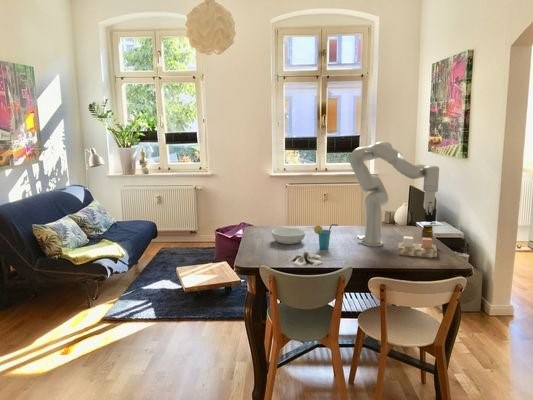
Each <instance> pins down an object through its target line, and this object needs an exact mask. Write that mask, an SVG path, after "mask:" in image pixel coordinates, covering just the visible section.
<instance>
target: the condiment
mask: <svg viewBox="0 0 533 400" xmlns="http://www.w3.org/2000/svg"><path fill="white" fill-rule="evenodd" d="M433 233H434V230H433V225H431V224H424V225H423V227H422V230H421V239H422V238H431V239H432V240H433V237H434V236H433V235H434V234H433ZM418 244H422V241H421V242H420V243H418ZM432 245H434V244H433V243H432Z"/></svg>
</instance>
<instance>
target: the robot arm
mask: <svg viewBox="0 0 533 400" xmlns="http://www.w3.org/2000/svg"><path fill="white" fill-rule="evenodd" d="M375 159H380V160H383V161H384V162H387V164H390V165H391V166H392V167H393V168H394V169H395V170H396V171H397V172H398V173H400V174H401V175H403V176H404V177H406V178H409V179H411V180H417V179H421V178H423V189H422V192H424V194H423V196H424V197H423V198H424V199H423V209H424V210H425V213H424V214H425V215H424V220H425V223H432V222H433V210H434V209H435V203H436V193H437V192H439V180H440V178H439V177H440V167H439V166H438V165H426V164H425V165H424V164H421V163H420V164H413V163H411V162H409V161H407V160H406V159H405V158H404V157H403V154H402V152H401V151H398V150H397V149H395V148H393V146H392V144H391V143H390V142H389V141H378V142H376V143H374V144H373V145H369V146H359V147H357V148H355V149H353V151H352V152H351V153H350V157H349V163H350V166H351V168H352V170H353V173H354V175H355V178H356V180H357V183H358V185H359V187H360V189H361V190H362V191H363V192H365V193H368V192H370V193H369V194H368V195H366V197H365V200H364V206H365V207H364V208H365V220H364V221H365V222H364V223H365V225H364V227H365V228H364V235H357V240H361V243H362V244H363V245H365V246H369V247H380V246H383V245H384V242H383V241H382V239H381V238H382V219H383V216H382V215H383V212H382V207H383V206H385V205H387V204H388V202H389V194H388V192H387V190H386V187H385V186H384V183H383V182H382V179H381V178H380V177H379V176H378V175H376V174H375V175H374V174H372V173H371V172H370V169H369V167H368V166H367V164H365V161H366V162H367V161H371V160H375Z"/></svg>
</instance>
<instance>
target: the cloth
mask: <svg viewBox="0 0 533 400" xmlns="http://www.w3.org/2000/svg"><path fill="white" fill-rule="evenodd" d="M318 258H319V259H320V258H322V256H321V255H319V254H315V253H313V254H311V253H310V252H309V251H308V250H305V251H304V252H303V253H302V254H295V255H294V256H293V257H291V258H290V259H288V262H293V261H294V262H293V265H295V266H298V267H303V266H305V265H307V264H308V263H310V264H311V265H313V266H314V265H315V266H318V264H319V265H321V263H322V261H321V260H318ZM322 264H323V263H322Z"/></svg>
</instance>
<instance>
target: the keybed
mask: <svg viewBox="0 0 533 400" xmlns="http://www.w3.org/2000/svg"><path fill="white" fill-rule="evenodd" d="M397 245H398V246H397V248H398V249H397V250H398V251H397V254H398V256H408V257H409V256H411V257H422V258H424V257H425V258H432V257H435V258H434V259H437V257H438V256H437V255H438V250H437V247H436V245H435V244H433V245H432V249H426V248H421V247H422V244H419V243H415V242H413V247H403V241H402V242H400V241H398V244H397Z"/></svg>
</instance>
